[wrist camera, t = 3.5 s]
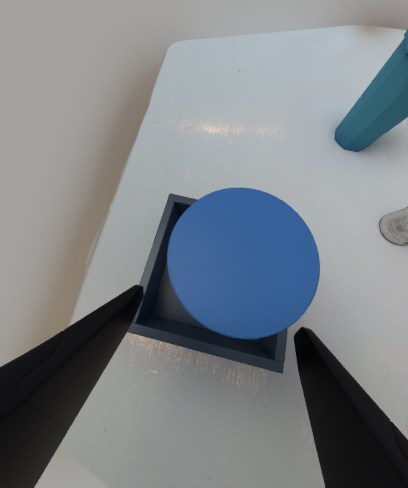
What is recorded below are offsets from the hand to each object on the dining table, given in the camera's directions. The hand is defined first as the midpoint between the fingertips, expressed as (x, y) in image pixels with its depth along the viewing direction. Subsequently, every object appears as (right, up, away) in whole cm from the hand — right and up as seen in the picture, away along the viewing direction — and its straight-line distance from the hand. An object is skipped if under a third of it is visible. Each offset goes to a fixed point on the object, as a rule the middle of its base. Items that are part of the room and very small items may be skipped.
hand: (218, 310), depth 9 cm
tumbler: (0, 0, +10) cm, 10 cm away
